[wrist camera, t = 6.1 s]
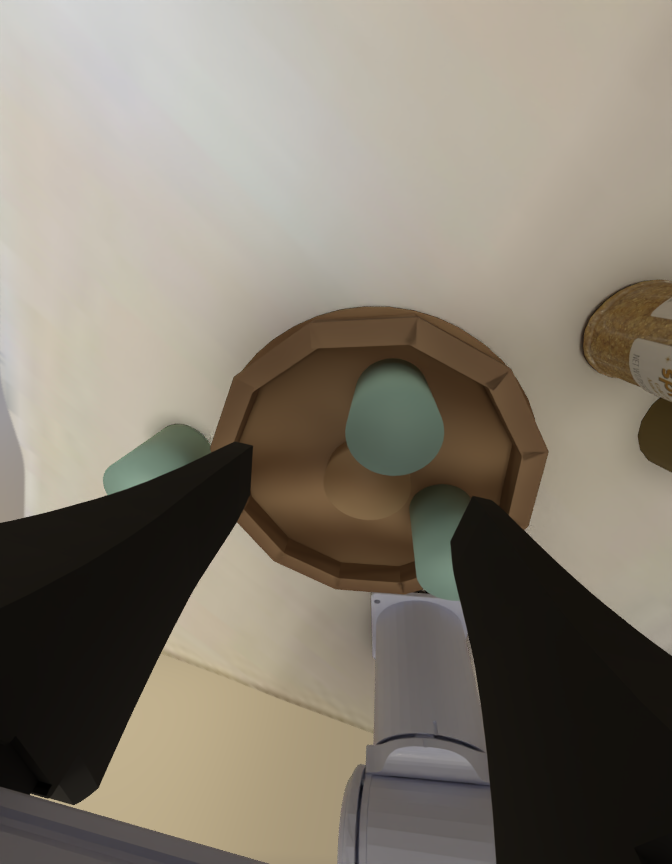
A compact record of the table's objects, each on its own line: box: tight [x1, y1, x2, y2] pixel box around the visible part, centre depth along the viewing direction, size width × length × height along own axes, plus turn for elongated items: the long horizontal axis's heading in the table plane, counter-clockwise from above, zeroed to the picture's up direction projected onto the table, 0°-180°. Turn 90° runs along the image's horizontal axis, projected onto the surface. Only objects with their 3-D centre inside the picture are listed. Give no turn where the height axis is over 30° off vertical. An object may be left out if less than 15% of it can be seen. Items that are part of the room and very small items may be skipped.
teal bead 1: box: [103, 424, 211, 495], centre depth 20 cm, size 4×4×5 cm
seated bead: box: [409, 484, 471, 601], centre depth 18 cm, size 4×4×5 cm
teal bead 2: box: [345, 358, 444, 476], centre depth 15 cm, size 4×4×5 cm
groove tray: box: [210, 306, 548, 595], centre depth 20 cm, size 20×20×2 cm
